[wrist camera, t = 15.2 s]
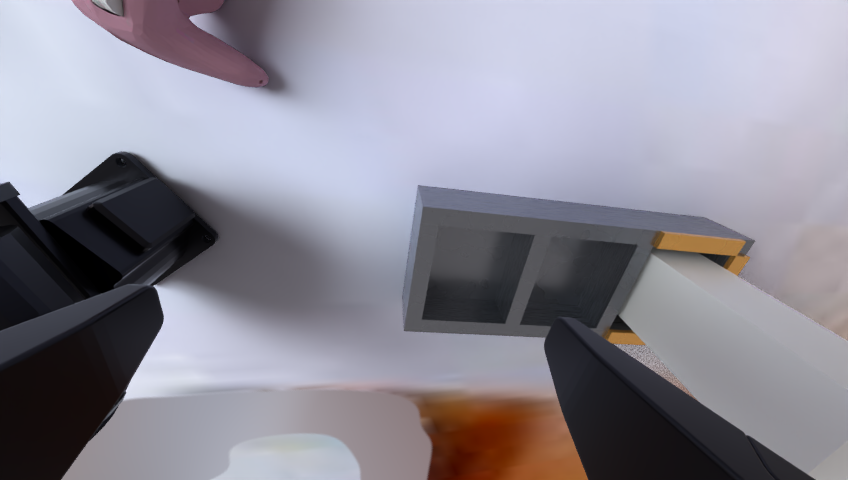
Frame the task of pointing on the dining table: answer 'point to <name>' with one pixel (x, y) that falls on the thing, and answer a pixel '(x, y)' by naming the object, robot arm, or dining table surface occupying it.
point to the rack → (539, 262)
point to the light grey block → (746, 357)
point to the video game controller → (174, 36)
